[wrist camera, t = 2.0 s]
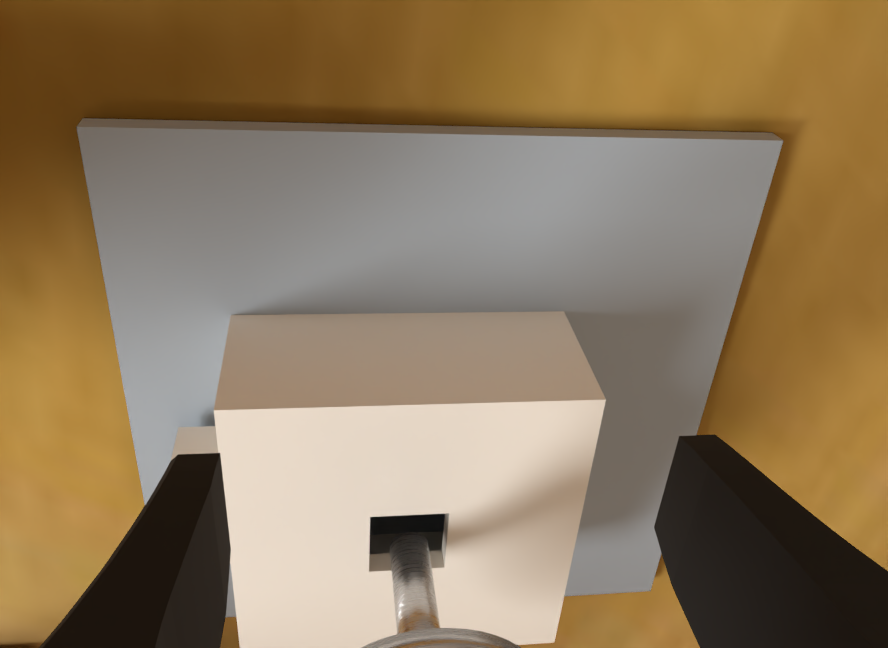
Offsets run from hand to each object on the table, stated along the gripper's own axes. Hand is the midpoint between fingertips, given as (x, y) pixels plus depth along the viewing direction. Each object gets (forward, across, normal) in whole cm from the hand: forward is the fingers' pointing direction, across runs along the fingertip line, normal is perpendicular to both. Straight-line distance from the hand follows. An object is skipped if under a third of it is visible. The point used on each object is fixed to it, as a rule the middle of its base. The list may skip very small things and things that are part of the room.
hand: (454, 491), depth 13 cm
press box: (+9, 0, +7) cm, 12 cm away
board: (+10, -1, +6) cm, 12 cm away
